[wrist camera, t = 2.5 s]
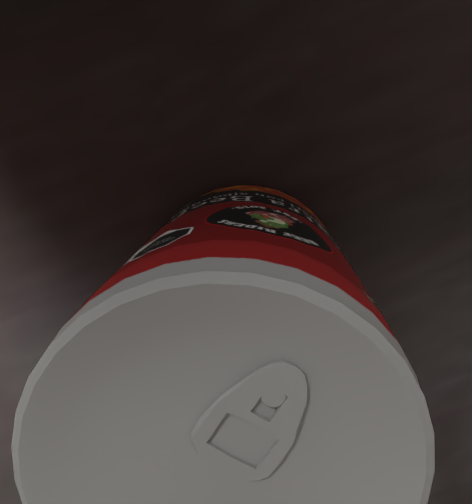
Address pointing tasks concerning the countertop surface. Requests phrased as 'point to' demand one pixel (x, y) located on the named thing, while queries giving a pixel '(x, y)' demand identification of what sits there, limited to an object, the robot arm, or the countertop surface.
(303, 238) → the canned food
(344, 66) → the countertop surface
